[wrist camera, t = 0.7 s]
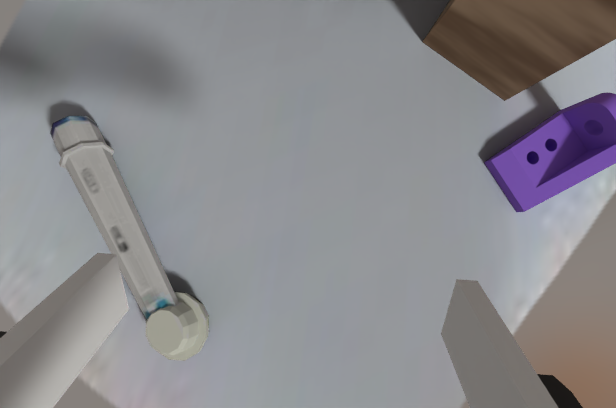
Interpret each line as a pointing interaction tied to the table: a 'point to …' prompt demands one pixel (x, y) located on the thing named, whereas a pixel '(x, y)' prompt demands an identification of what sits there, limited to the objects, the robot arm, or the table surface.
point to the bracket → (558, 152)
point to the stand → (520, 38)
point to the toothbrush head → (129, 240)
